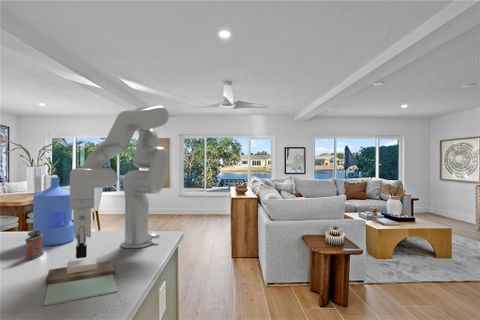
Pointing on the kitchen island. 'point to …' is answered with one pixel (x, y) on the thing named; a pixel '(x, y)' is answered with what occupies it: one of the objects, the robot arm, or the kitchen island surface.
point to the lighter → (34, 245)
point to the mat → (80, 289)
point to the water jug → (53, 215)
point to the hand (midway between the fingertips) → (81, 257)
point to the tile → (81, 265)
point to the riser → (79, 273)
